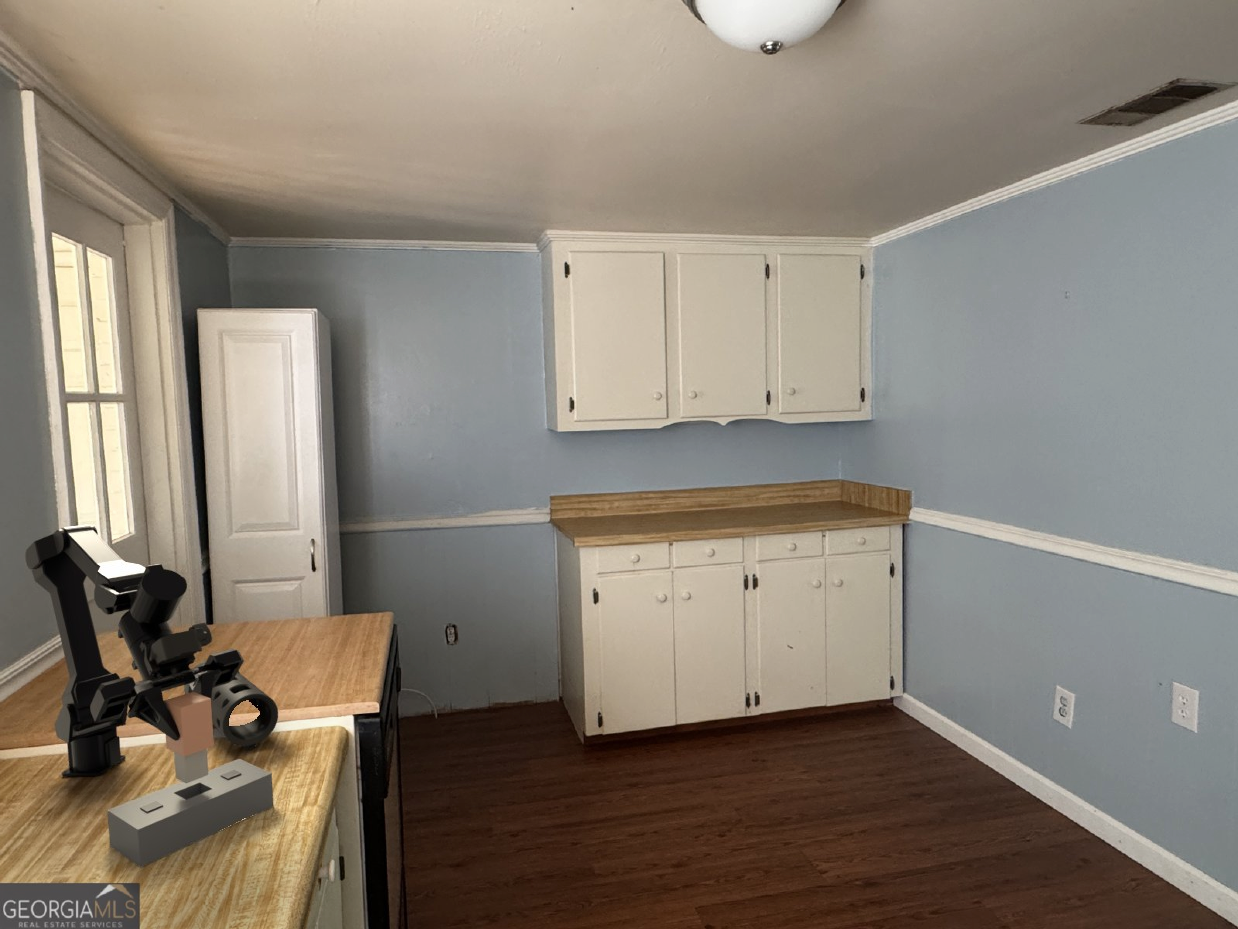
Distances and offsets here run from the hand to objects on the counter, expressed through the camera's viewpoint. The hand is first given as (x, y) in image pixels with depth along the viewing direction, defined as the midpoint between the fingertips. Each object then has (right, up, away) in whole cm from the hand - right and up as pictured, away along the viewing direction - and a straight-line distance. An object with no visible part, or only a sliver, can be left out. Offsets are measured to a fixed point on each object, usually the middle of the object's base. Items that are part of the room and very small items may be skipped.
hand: (194, 733), depth 106 cm
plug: (-1, -7, +1) cm, 8 cm away
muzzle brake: (-13, -12, +36) cm, 41 cm away
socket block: (-1, -14, +2) cm, 14 cm away
